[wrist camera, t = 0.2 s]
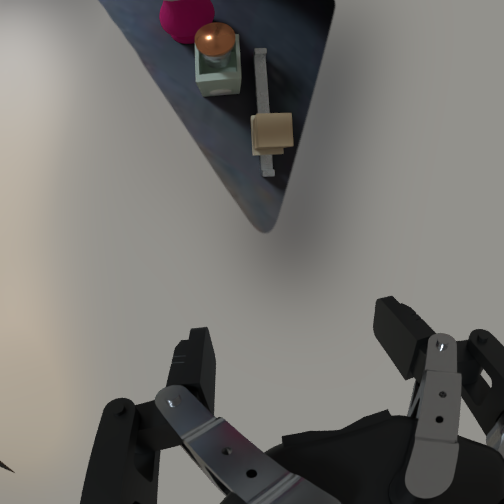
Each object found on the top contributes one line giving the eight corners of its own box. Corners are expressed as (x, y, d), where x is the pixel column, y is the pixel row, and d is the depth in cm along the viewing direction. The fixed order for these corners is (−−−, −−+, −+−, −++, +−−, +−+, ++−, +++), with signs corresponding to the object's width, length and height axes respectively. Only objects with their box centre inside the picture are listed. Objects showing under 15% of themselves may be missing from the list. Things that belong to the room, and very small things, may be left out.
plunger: (200, 45, 25) (194, 24, 19) (233, 42, 25) (234, 21, 19) (201, 73, 26) (194, 56, 20) (235, 70, 26) (236, 52, 20)
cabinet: (201, 59, 32) (194, 37, 24) (237, 56, 32) (238, 34, 24) (203, 98, 34) (195, 83, 26) (239, 95, 34) (241, 79, 26)
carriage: (249, 119, 34) (255, 106, 25) (276, 118, 34) (291, 106, 25) (252, 155, 36) (258, 154, 27) (279, 154, 36) (294, 153, 27)
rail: (252, 57, 32) (254, 48, 29) (263, 56, 32) (266, 48, 29) (260, 175, 38) (263, 176, 34) (271, 174, 38) (274, 176, 34)
